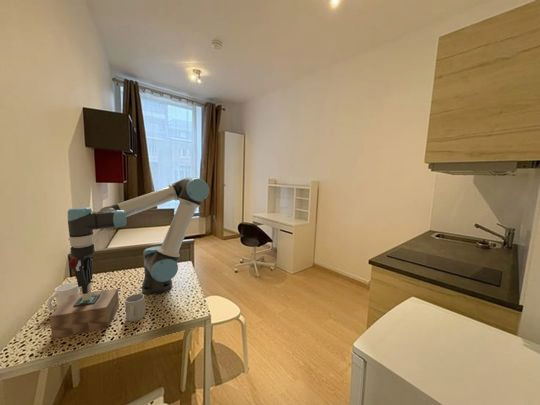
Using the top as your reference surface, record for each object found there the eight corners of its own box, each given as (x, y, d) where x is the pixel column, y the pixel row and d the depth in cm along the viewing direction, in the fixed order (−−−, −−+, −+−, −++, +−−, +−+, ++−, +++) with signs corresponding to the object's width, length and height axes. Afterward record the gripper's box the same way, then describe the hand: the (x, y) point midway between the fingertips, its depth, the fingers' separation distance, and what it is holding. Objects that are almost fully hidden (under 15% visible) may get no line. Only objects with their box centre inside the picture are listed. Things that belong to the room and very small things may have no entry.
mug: (54, 318, 97) (51, 296, 96) (42, 314, 100) (40, 292, 99) (84, 304, 108) (82, 283, 107) (73, 300, 111) (71, 281, 110)
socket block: (119, 306, 107) (117, 287, 106) (108, 327, 92) (106, 305, 91) (71, 314, 100) (69, 294, 99) (52, 338, 85) (49, 314, 84)
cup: (147, 311, 103) (146, 292, 102) (141, 324, 94) (139, 304, 93) (129, 313, 102) (128, 294, 100) (121, 327, 92) (119, 307, 91)
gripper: (78, 241, 97) (82, 293, 100) (62, 251, 85) (68, 309, 88) (99, 240, 100) (103, 290, 102) (87, 249, 88) (91, 305, 90)
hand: (87, 299), depth 95 cm, fingers closed
